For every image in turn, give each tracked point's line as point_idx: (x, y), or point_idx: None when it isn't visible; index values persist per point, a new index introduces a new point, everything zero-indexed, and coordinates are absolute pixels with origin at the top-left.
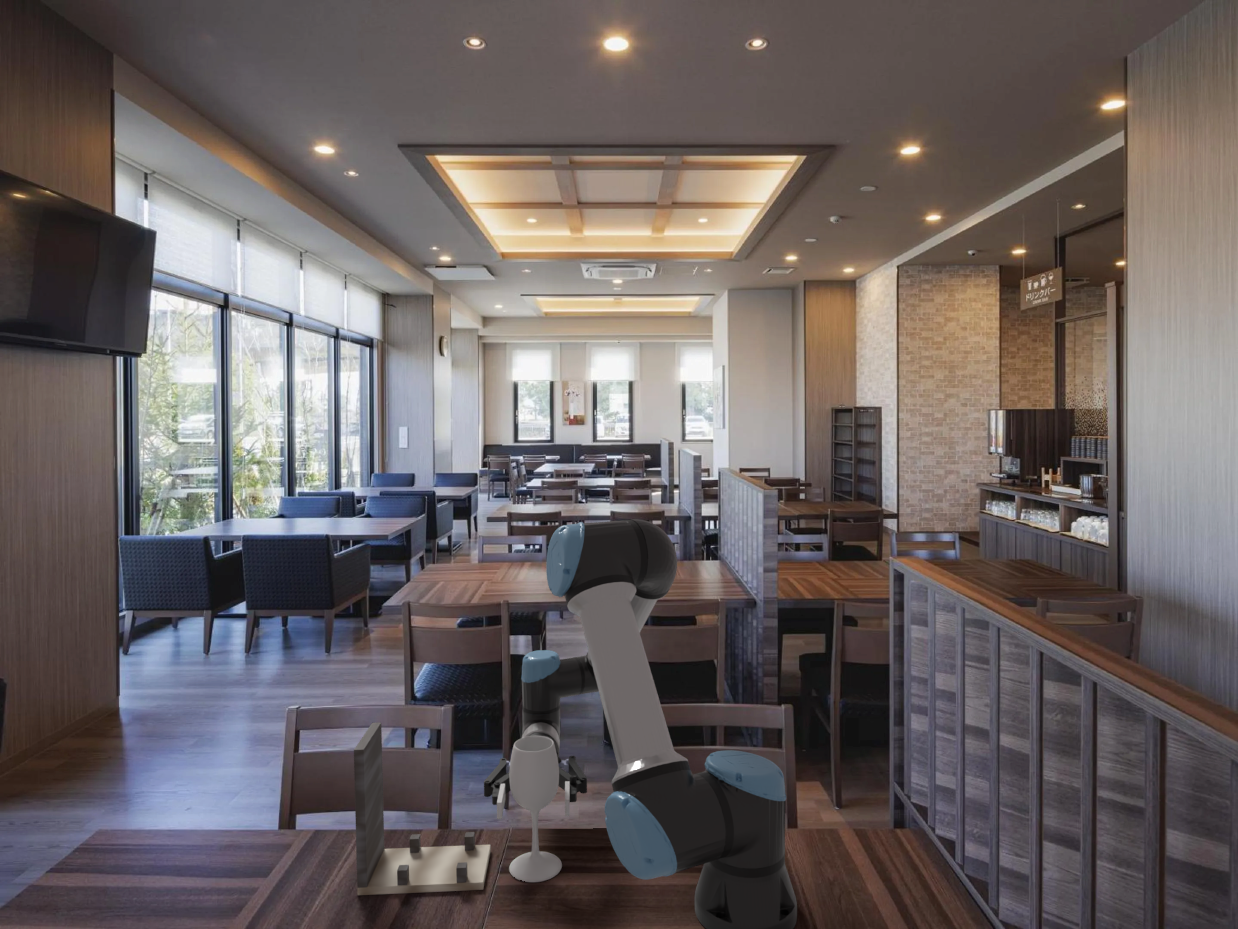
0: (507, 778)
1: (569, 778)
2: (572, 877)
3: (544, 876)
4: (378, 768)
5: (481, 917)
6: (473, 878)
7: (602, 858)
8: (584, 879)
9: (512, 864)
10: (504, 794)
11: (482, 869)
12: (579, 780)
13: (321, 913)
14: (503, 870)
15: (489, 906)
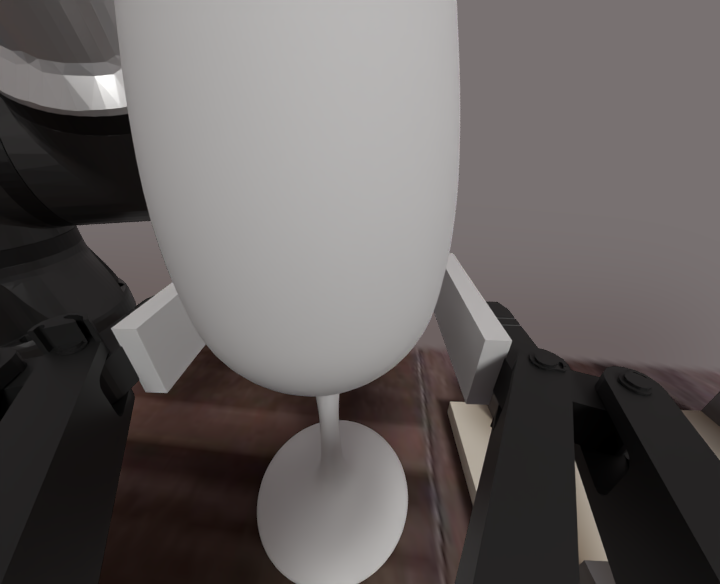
0: (509, 407)
1: (69, 367)
2: (252, 434)
3: (316, 426)
4: None
5: (425, 351)
6: (477, 416)
7: (126, 518)
8: (229, 423)
9: (399, 486)
10: (462, 336)
11: (471, 448)
12: (7, 384)
13: (711, 382)
14: (421, 485)
15: (419, 370)
